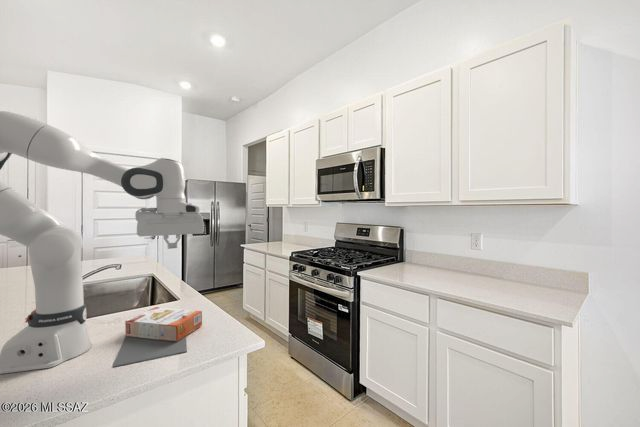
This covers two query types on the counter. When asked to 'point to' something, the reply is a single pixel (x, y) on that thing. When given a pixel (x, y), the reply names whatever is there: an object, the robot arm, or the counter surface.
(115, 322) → the counter surface
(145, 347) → the mat
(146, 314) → the cracker box
